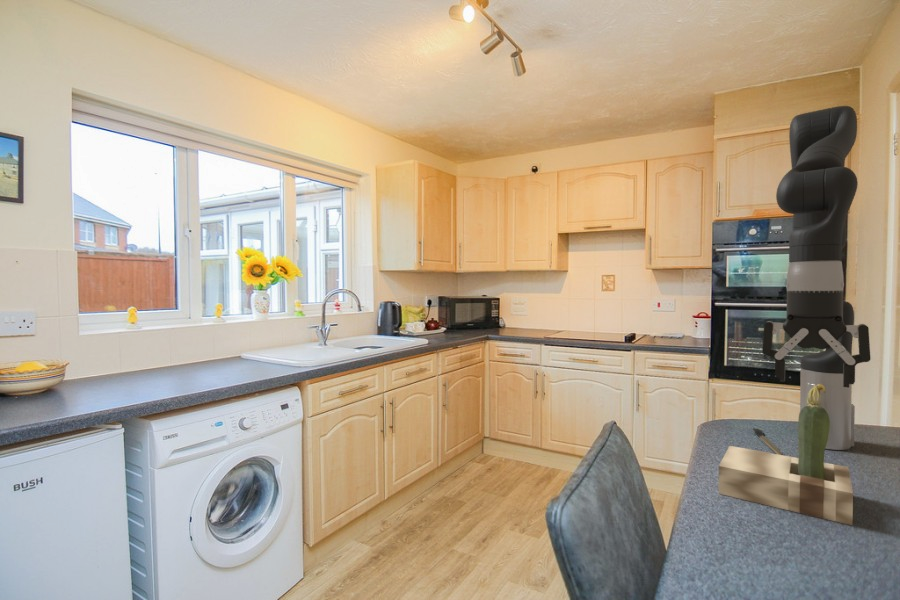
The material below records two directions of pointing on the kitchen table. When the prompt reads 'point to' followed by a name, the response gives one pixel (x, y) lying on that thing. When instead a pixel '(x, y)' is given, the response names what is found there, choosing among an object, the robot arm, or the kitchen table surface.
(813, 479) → the wooden block with hole
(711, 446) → the kitchen table surface
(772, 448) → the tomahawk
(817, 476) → the vegetable
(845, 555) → the kitchen table surface
